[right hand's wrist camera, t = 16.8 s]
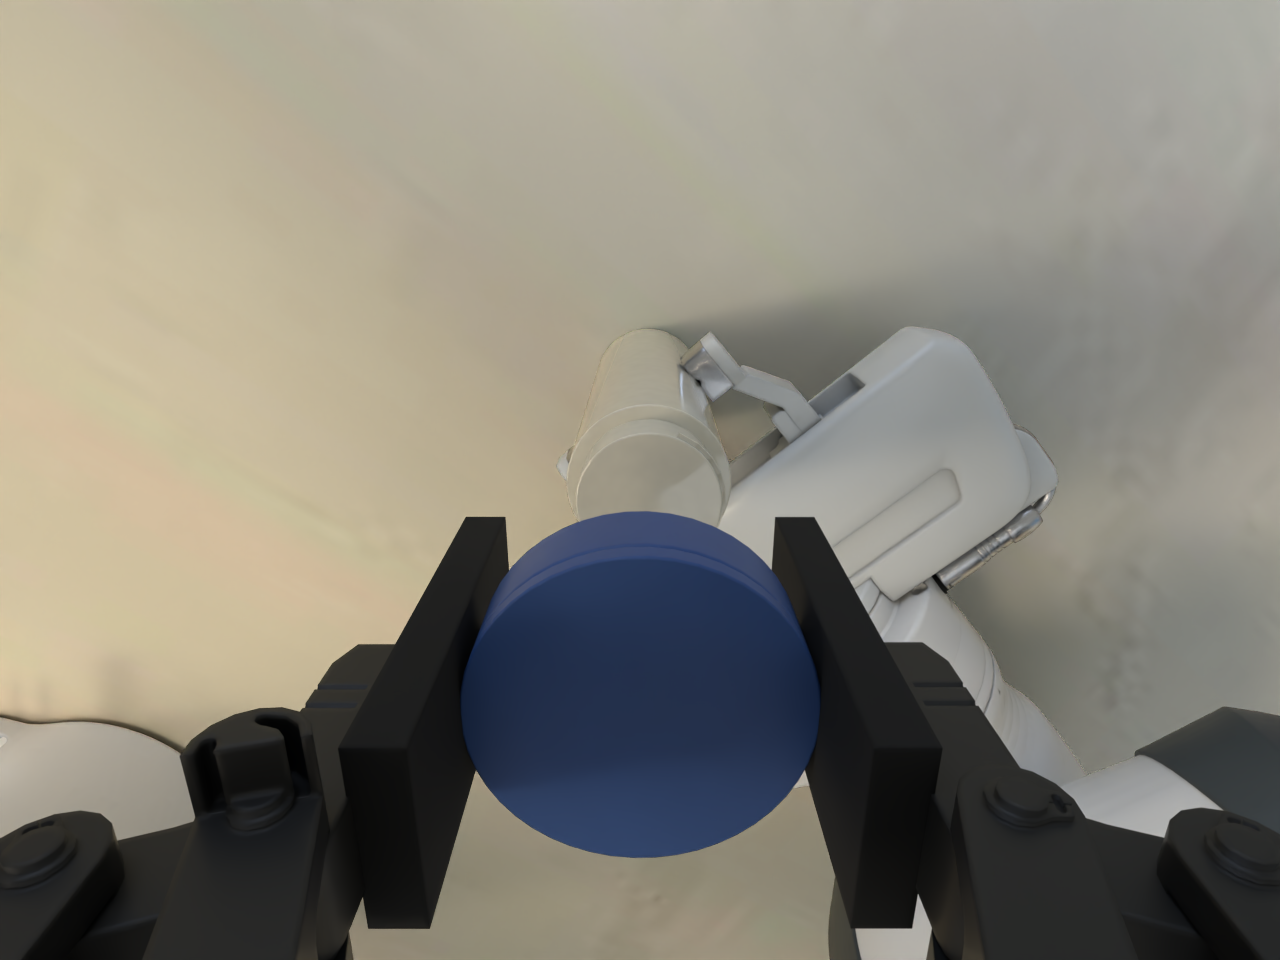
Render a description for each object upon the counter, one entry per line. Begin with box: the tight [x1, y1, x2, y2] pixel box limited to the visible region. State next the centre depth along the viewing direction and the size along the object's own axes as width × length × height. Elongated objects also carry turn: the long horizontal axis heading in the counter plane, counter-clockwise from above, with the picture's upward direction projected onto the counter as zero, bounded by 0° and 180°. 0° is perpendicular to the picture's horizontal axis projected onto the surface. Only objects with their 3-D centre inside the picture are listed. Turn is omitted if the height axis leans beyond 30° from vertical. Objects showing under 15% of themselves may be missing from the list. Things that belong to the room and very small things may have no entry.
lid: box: [460, 511, 821, 858], centre depth 12 cm, size 5×5×2 cm
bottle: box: [566, 329, 731, 528], centre depth 27 cm, size 4×4×15 cm
